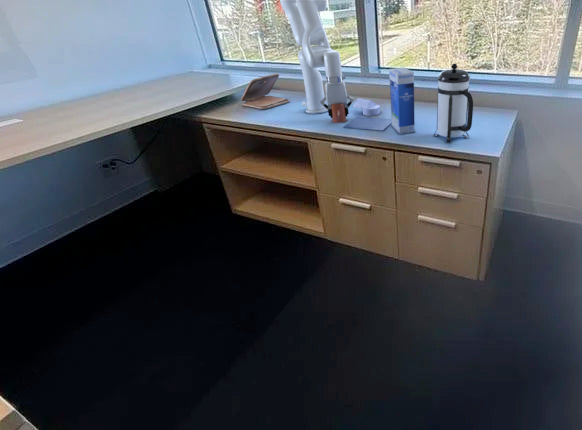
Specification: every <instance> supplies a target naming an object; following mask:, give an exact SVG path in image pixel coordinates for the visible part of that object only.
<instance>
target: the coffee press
mask: <svg viewBox="0 0 582 430" xmlns="http://www.w3.org/2000/svg"><path fill="white" fill-rule="evenodd" d="M470 80H471V76H470V74H469V73H468V71H466V70H465V69H459V68H458V64H457V63H452V64H451V68H450V69H445V70H442V71H441V72H440V73H439V75H438V76H437V82H438V86H437V103H436V104H437V105H436V106H437V108H436V109H437V111H436V131H435V132H434V133H433V135H434V137H437V136H441V137H444V138H446V143H451V140H452V138H454V139H455V138H459V137H464V138H465V139H469V136H470V135H469V133H468V132H469V131H470V130H471V128H472V124H473V114H474V99H473V96H472V94H471V92H470V86H469V84H470ZM436 133H437V134H436ZM465 134H466V135H467V136H466V135H465Z"/></svg>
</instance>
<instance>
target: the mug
mask: <svg viewBox="0 0 582 430" xmlns="http://www.w3.org/2000/svg"><path fill="white" fill-rule="evenodd" d="M330 109H331V114H332V118H331V121H332V123H335V124H342V123H345V122H346V121H347V116H346V111H345V105H344V103H340V104H331V107H330Z"/></svg>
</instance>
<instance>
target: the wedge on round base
mask: <svg viewBox="0 0 582 430" xmlns="http://www.w3.org/2000/svg"><path fill="white" fill-rule="evenodd" d="M352 106H353V107H352V108H358V109H362V114H363V115H364V116H367V117H371V116H372V117H373V116H378V115H380V114H381V106H380V104H376V103H375V102H374V101H373V100H371V99H367V98H359V97H357V98H356V101H355V102H354V104H353V105H352Z"/></svg>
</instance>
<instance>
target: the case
mask: <svg viewBox="0 0 582 430" xmlns="http://www.w3.org/2000/svg"><path fill="white" fill-rule="evenodd" d="M279 77H280V74H279V73H272V74H269V75H264V76H261V77H257V78H253V79H251V80H250V81H249V83H248V85H247V86H246V88H245V90H244V91H243V94H242V96H241V98H240V101H242V102H243V103H242V105H243V106H244V107H248V108H249V107H250V108H254V109H259V110H267V109H271V108H275V107H277V106H281V105H285V104H288V103H290V99H288V98H285V97H279V96H274V95H269V94H270V93H271V91H272V89H273V87H274V86H275V84H276V82H277V80H278V79H279Z"/></svg>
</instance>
